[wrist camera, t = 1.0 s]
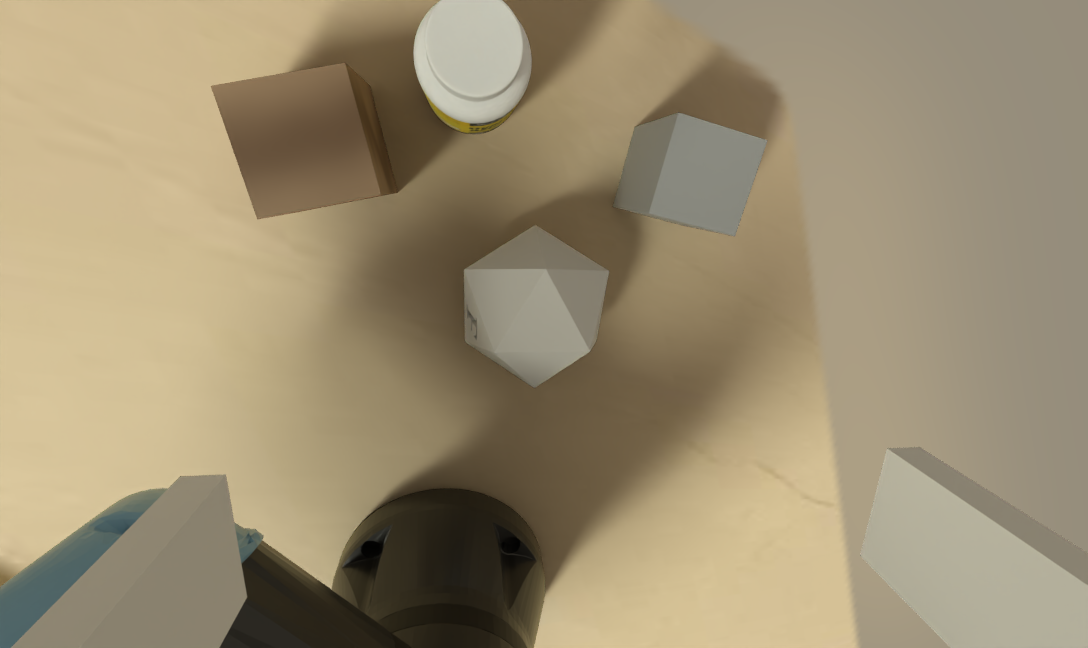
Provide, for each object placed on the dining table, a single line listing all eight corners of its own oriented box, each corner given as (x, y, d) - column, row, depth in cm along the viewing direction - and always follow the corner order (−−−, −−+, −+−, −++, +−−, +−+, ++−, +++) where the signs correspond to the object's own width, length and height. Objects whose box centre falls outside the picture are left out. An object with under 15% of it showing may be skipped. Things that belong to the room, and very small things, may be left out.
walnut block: (398, 192, 31) (381, 194, 25) (297, 212, 30) (257, 219, 24) (369, 86, 29) (344, 62, 23) (263, 104, 28) (210, 85, 23)
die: (511, 197, 32) (420, 260, 25) (641, 232, 30) (581, 312, 22) (506, 304, 37) (428, 382, 30) (618, 341, 34) (562, 437, 27)
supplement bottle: (470, 155, 31) (470, 143, 21) (405, 80, 29) (373, 32, 20) (537, 92, 30) (567, 52, 21) (474, 12, 29) (475, -69, 19)
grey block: (682, 225, 34) (735, 236, 27) (612, 206, 33) (648, 213, 26) (706, 148, 32) (767, 140, 26) (634, 126, 32) (678, 112, 25)
